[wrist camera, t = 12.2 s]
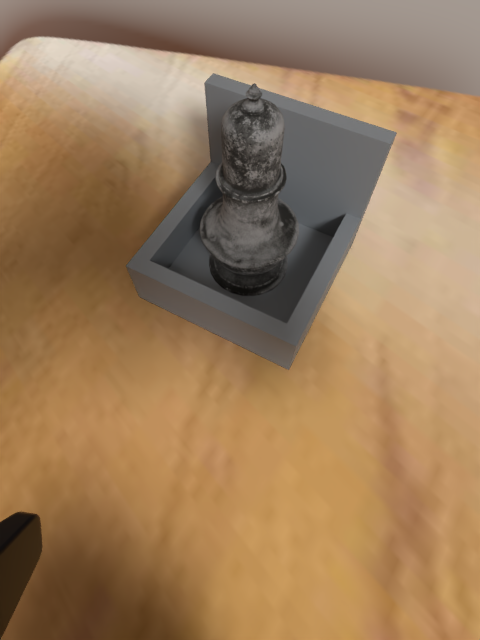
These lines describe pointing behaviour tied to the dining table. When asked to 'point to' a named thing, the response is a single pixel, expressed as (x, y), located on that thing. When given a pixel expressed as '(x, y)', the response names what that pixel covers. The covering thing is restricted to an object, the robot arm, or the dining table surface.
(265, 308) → the shaker rack
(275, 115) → the salt shaker
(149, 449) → the dining table surface
